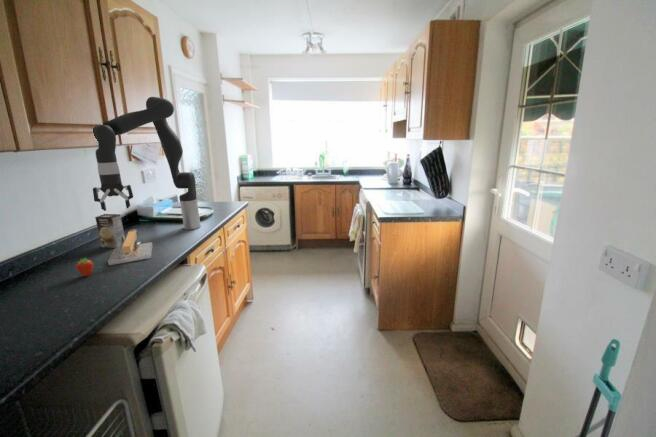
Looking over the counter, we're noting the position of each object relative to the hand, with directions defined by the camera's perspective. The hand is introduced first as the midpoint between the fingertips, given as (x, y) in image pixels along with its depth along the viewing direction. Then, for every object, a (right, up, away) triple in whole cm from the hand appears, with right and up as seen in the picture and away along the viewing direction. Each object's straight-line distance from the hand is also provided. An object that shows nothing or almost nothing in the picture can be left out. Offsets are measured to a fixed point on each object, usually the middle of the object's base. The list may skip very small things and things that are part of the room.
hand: (116, 209), depth 138 cm
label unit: (+2, -21, +8) cm, 23 cm away
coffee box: (-16, -18, +21) cm, 32 cm away
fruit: (-3, -28, -13) cm, 30 cm away
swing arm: (+1, -16, +9) cm, 18 cm away
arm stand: (-4, -18, +21) cm, 28 cm away
